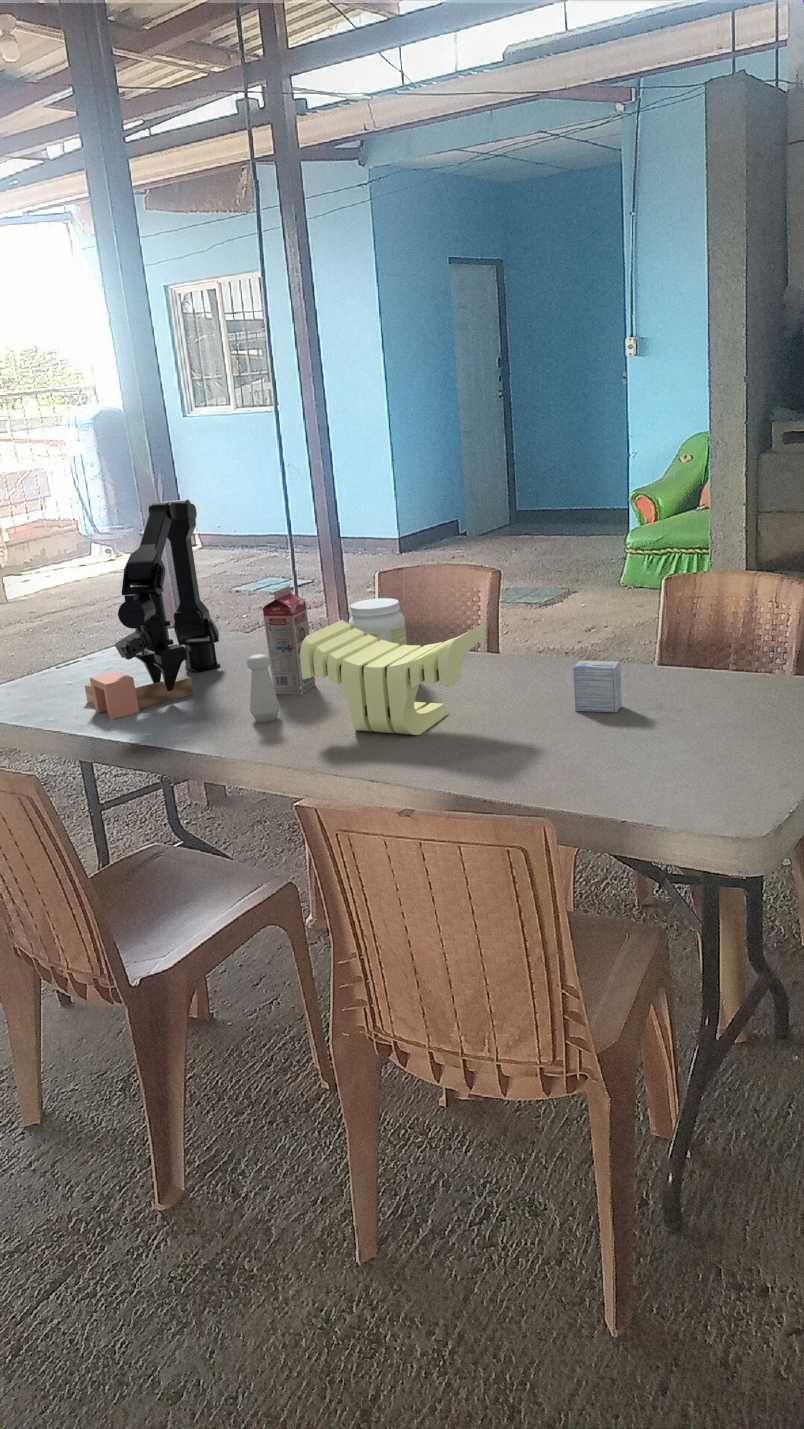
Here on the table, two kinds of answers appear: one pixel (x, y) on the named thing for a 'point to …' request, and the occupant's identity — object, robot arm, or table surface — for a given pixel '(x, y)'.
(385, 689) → the slatted curved stool
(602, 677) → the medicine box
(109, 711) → the arch block
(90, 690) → the wooden cube
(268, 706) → the salt shaker
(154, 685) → the wooden plank
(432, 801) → the table surface
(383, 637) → the supplement tub
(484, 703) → the table surface
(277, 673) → the juice carton
